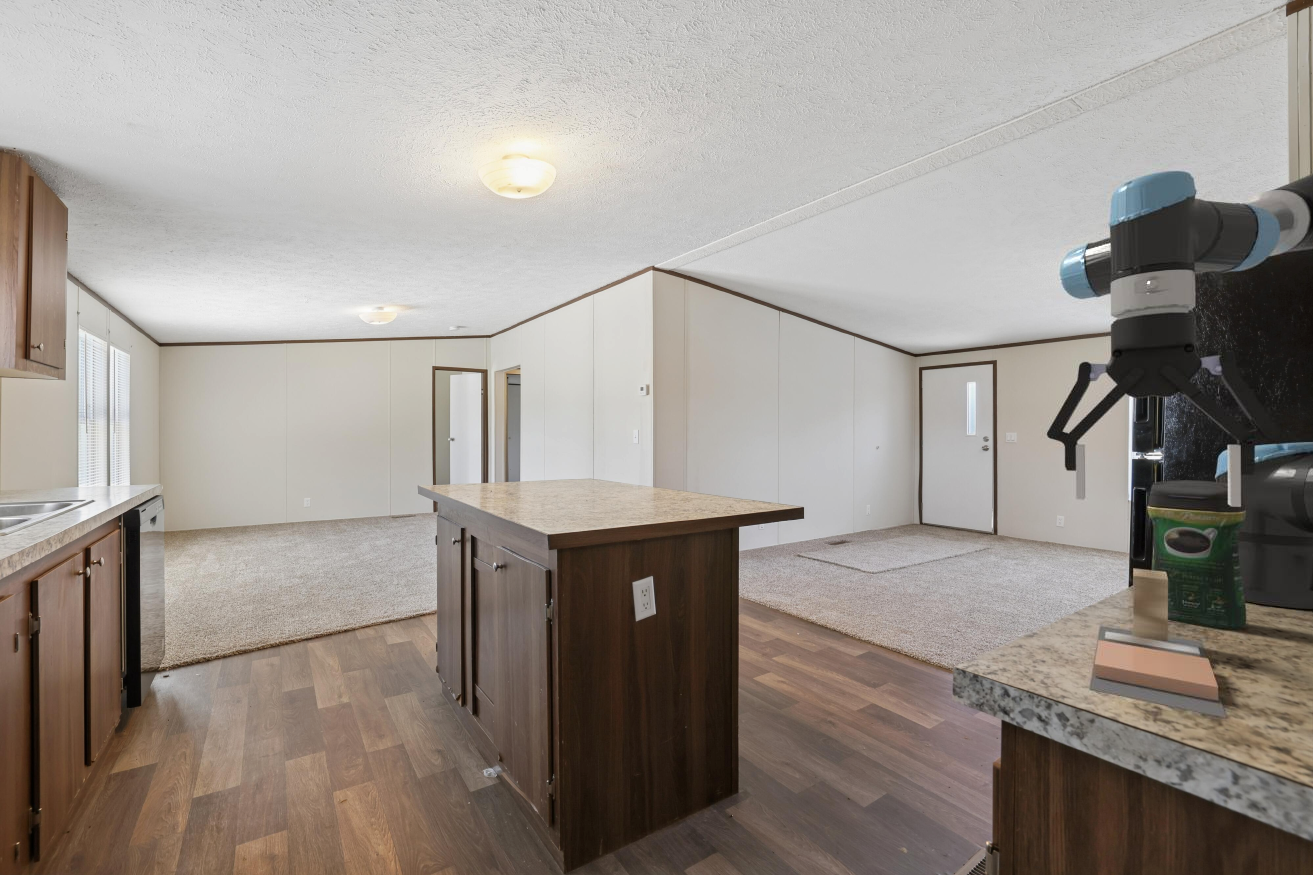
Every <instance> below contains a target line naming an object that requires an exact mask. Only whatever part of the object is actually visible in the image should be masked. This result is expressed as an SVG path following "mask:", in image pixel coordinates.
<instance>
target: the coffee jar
mask: <svg viewBox="0 0 1313 875" xmlns="http://www.w3.org/2000/svg"><path fill="white" fill-rule="evenodd" d="M1148 498H1149V499H1148V504H1147V506H1146V507H1147V509H1146V510H1147V513H1148V516H1149V518H1150V520H1151V522H1152V528H1153V529H1152V530H1153V552H1152V562H1151V570H1153V571H1162V572H1166V574H1167V578H1168V621H1172V622H1173V621H1174V622H1178V623H1182V624H1188V625H1192V626H1198V627H1199V626H1200V627H1205V628H1210V629H1217V630H1225V631H1228V630H1237V631H1239V630H1241V629H1243V628H1244V627H1245V626H1246V624H1247V608H1246V601H1245V598H1244V591H1243V585H1242V579H1241V571H1240V563H1239V549H1238V536H1239V529H1240V527H1241V525H1242V524H1243V522H1244V520H1245V517H1246V511H1245V505H1244V501H1243V496H1242V492H1241V507H1232V506H1230V505H1229V504H1228V484H1227V483H1219V482H1216V481H1208V480H1191V479H1188V480H1186V479H1185V480H1165V481H1156V482H1153V484H1152V485H1151V487H1150V491H1149V497H1148Z"/></svg>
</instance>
